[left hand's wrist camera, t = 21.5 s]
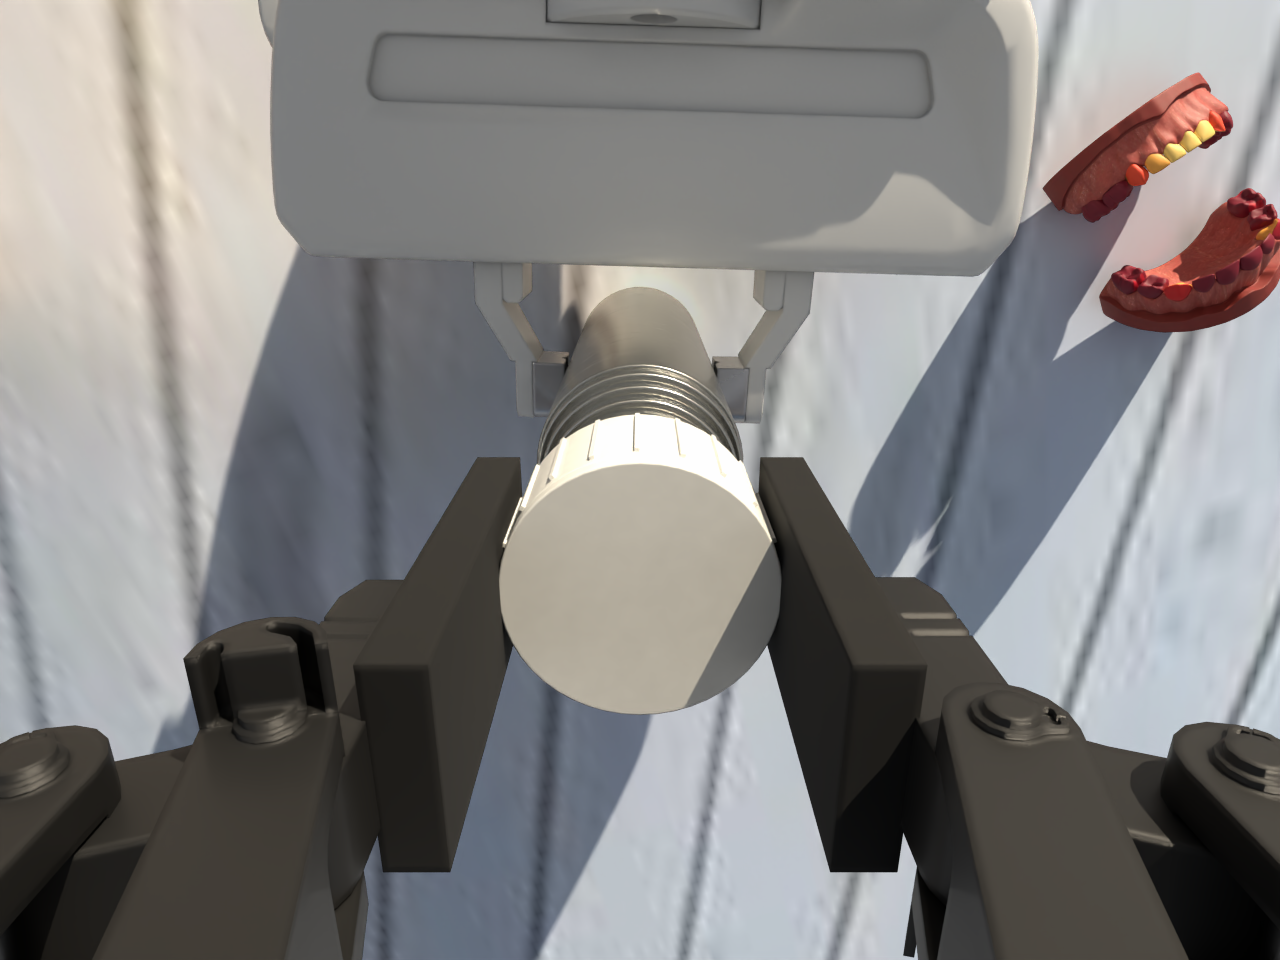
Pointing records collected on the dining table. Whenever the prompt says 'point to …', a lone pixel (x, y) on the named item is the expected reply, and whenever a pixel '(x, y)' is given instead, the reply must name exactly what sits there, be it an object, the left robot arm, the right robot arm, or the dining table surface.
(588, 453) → the cap
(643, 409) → the bottle
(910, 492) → the dining table surface
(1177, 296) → the dental model
